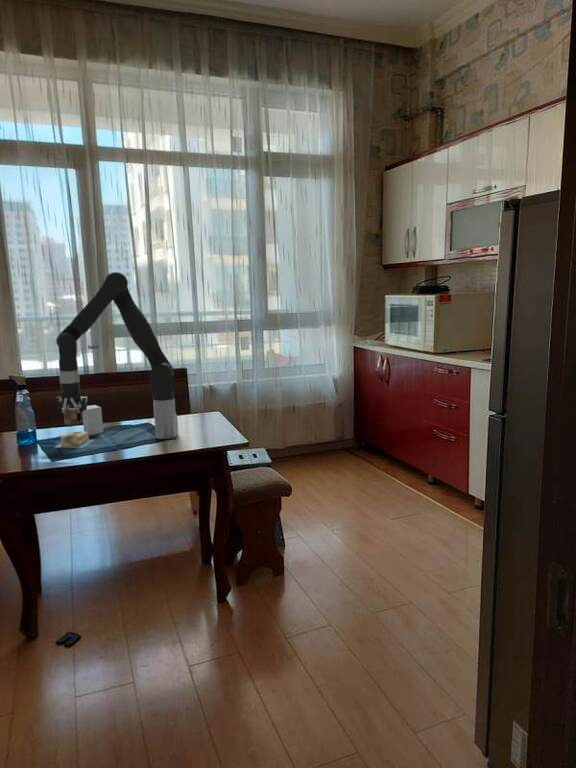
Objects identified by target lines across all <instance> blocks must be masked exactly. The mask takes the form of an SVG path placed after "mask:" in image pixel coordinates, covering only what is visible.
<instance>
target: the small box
mask: <svg viewBox="0 0 576 768" xmlns="http://www.w3.org/2000/svg"><path fill="white" fill-rule="evenodd" d="M82 417H83V419H82V425H83V426H82V427H83V432H88V434H89V436H92V435H99V434H102V433H104V425H103V413H102V407H101V406H98V405H96V404H93V405H92V404H91V405H87V409H86V410H85V411H83V412H82Z"/></svg>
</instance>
